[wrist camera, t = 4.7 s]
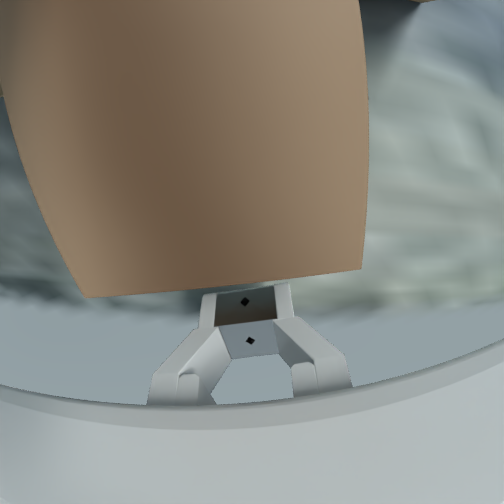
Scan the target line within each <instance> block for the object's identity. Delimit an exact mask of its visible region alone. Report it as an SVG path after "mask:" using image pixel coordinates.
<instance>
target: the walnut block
mask: <svg viewBox="0 0 504 504" xmlns="http://www.w3.org/2000/svg"><path fill="white" fill-rule="evenodd" d="M0 80H1V86H2V91H3V96H4V100H5V105H6V109H7V113H8V117H9V121H10V125H11V129H12V132H13V136H14V139H15V142H16V146H17V149H18V152H19V155H20V158H21V161H22V164H23V167H24V170H25V173H26V176H27V178H28V181H29V184H30V186H31V189H32V192H33V194H34V197H35V199H36V202H37V204H38V206H39V209H40V211H41V213H42V216H43V218H44V220H45V223H46V225H47V227H48V229H49V231H50V233H51V236H52V238H53V240H54V242H55V244H56V246H57V248H58V250H59V252H60V254H61V256H62V258H63V260H64V262H65V264H66V266H67V267H68V269H69V271H70V273H71V275H72V277H73V278H74V280H75V282H76V284H77V286H78V287H79V289H80V291H81V293H82V294H83V296H84V298H94V297H108V296H121V295H133V294H145V293H157V292H168V291H179V290H190V289H200V288H210V287H219V286H229V285H238V284H247V283H256V282H265V281H273V280H282V279H290V278H298V277H306V276H314V275H322V274H329V273H337V272H344V271H351V270H359V269H361V267H362V258H363V248H364V237H365V226H366V212H367V195H368V169H369V112H368V88H367V71H366V59H365V48H364V38H363V29H362V21H361V14H360V7H359V1H358V0H0Z"/></svg>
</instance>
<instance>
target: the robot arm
mask: <svg viewBox="0 0 504 504" xmlns="http://www.w3.org/2000/svg"><path fill="white" fill-rule="evenodd" d="M271 354H279V355H280V356H281V357H282V358H283V359H284V361H285V362H286V363H287V364H288V365H289V367H290V368H291V373H292V385H293V394H294V398H288V399H281V400H271V401H263V402H252V403H239V404H223V405H217V404H216V403H215V401H214V399H213V398H212V396H211V395H210V393H211V392H212V390H213V389H214V387H215V386H216V384H217V383H218V381H219V380H220V378H221V376H222V375H223V373H224V372H225V370H226V369H227V367H228V365H229V364H230V362H231V359H237V358H244V357H252V356H261V355H271ZM0 504H504V339H502V340H500V341H497V342H496V343H493V344H490V345H488V346H486V347H484V348H481V349H478V350H476V351H473V352H471V353H468V354H466V355H463V356H460V357H458V358H455V359H452V360H449V361H446V362H443V363H440V364H437V365H435V366H431V367H429V368H425V369H422V370H419V371H415V372H412V373H408V374H405V375H402V376H398V377H394V378H390V379H386V380H382V381H379V382H375V383H371V384H366V385H361V386H357V387H352V383H351V379H350V375H349V370H348V367H347V363H346V359H345V355H344V354H343V353H342V352H341V351H340V350H338V349H337V348H336V347H335V346H334V345H332V344H331V343H330V342H329V341H328V340H326V339H325V338H324V337H323V336H322V335H321V334H319V333H318V332H317V331H316V330H314V329H313V328H312V327H311V326H310V325H309V324H308V323H306V322H305V321H304V320H303V319H302V318H300V317H299V316H296V317H294V311H293V305H292V298H291V292H290V286H289V283H288V282H285V283H279V284H274V285H269V286H262V287H256V288H249V289H242V290H233V291H224V292H218V293H208V294H204V295H203V297H202V302H201V309H200V316H199V323H198V329H193V331H192V332H191V333H190V334H189V335H188V336H187V337H186V338H185V340H183V342H182V343H181V344H180V345H179V346H178V347H177V348H176V349H175V350H174V351H173V353H172V354H171V355H170V356H169V357H168V358H167V359H166V360H165V361H164V362H163V363H162V365H161V366H160V367H159V368H158V369H157V370H156V371H155V372H154V373H153V375H152V381H151V385H150V390H149V395H148V400H147V405H134V404H119V403H118V404H117V403H107V402H97V401H88V400H79V399H71V398H65V397H59V396H52V395H47V394H41V393H36V392H31V391H27V390H21V389H17V388H13V387H9V386H5V385H1V384H0Z"/></svg>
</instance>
